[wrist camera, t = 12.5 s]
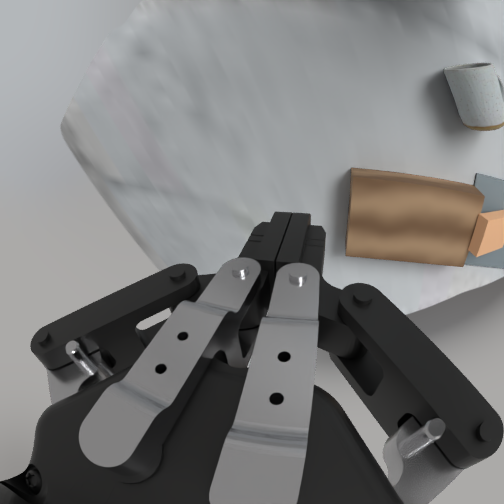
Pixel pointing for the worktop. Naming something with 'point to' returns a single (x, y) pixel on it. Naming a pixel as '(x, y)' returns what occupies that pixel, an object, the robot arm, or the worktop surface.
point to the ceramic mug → (477, 95)
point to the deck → (410, 217)
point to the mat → (496, 199)
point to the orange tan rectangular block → (488, 233)
